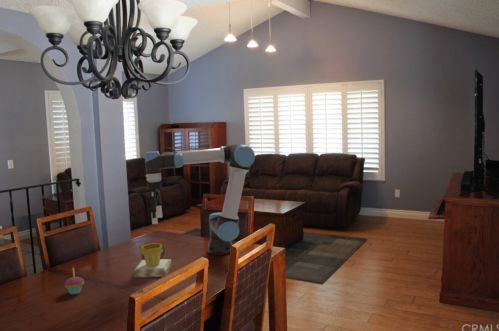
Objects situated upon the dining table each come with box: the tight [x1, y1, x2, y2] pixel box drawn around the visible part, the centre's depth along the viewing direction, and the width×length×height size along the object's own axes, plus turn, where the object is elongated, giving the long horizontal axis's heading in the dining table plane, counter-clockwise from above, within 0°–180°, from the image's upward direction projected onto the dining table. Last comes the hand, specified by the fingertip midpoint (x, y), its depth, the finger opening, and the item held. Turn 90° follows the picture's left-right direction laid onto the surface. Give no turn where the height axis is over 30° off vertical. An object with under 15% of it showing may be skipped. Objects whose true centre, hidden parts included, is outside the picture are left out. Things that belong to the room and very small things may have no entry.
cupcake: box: [64, 265, 85, 295], centre depth 202 cm, size 9×8×12 cm
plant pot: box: [141, 243, 162, 266], centre depth 225 cm, size 10×10×10 cm
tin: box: [141, 244, 166, 260], centre depth 244 cm, size 15×3×8 cm, turn 143°
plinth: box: [133, 258, 172, 278], centre depth 227 cm, size 16×16×4 cm
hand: (157, 220), depth 230 cm, fingers open, 13 cm apart
